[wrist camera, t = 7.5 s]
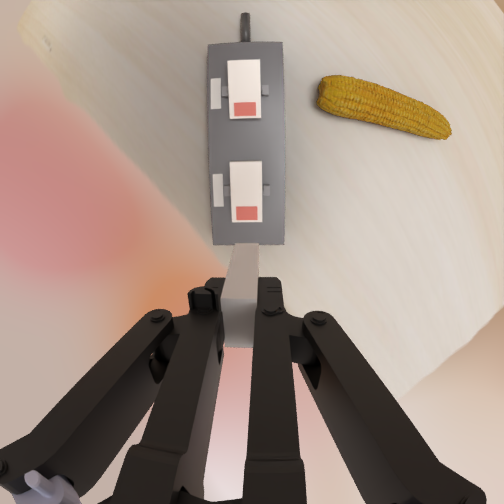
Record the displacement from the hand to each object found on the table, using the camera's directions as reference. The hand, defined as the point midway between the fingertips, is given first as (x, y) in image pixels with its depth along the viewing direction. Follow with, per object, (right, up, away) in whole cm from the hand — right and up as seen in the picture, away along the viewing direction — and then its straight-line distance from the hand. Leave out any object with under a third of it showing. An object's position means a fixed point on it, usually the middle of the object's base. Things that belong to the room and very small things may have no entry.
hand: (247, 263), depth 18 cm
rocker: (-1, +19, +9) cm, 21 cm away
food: (+19, +21, +14) cm, 31 cm away
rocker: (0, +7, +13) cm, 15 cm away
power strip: (0, +18, +15) cm, 23 cm away
